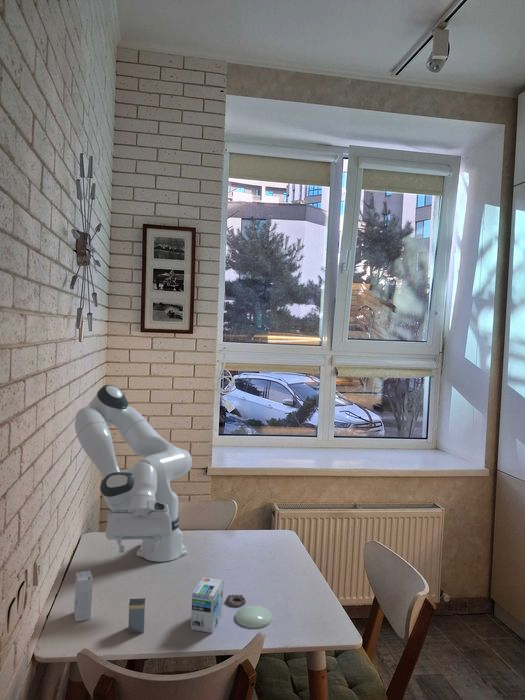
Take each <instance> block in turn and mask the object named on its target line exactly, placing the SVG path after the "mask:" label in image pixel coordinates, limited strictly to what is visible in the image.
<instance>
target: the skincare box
mask: <svg viewBox="0 0 525 700" xmlns="http://www.w3.org/2000/svg"><path fill="white" fill-rule="evenodd" d="M93 582H94V580H93V575H92V572H91V570H84V571H78V572H76V573H75V585H74V586H75V588H74V604H73V606H74V608H73V617H74V621H75V622H82V621H89V620H91V618H92V617H91V615H92V614H91V613H92V600H93V599H92V598H93V597H92V596H93Z"/></svg>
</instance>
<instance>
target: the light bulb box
mask: <svg viewBox="0 0 525 700" xmlns="http://www.w3.org/2000/svg"><path fill="white" fill-rule="evenodd" d="M223 603H224V579H218V578H217V579H216V578H210V577H205V576H204V577H202V578H201V580H200V581H199V583H198V584H197V585H196V587H195V588H194V590H193V591H192V592H191V618H190V619H191V620H190V621H191V623H190V629H191V631H197V632H204V633H209V634H212V633H214V631H215V629H216V627H218V624H219V622H220V620H221V618H222V617H223V609H224V607H223V605H224V604H223Z"/></svg>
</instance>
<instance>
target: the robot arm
mask: <svg viewBox="0 0 525 700" xmlns="http://www.w3.org/2000/svg"><path fill="white" fill-rule="evenodd" d="M76 413H77V414H76ZM76 413H75V414H76V421H75V425H74V430H75V433H76V436H77V439H78V442H79V444H80V446H81V448H82V449H83V451H84V452H85V454H86V455H87V457H88V458H89V459H90V460H91V462H92V463H93V464H94V465H95V467H96V469H97V470H98V471H99V473H100V475H101V477H102V480H101V482H100V484H99V485H100V486H99V491H100V493H101V495H102V496H103V499H104V500H105V502H106V504H107V507H108V509H109V512H108V513H107V516H106V522H107V523H106V528H105V538H106V539H107V540H109V541H115V540H116V544H117V546H118V553H119V554H125V545H122V541H123V540H124V541H126V540H142V541H141V546H140V547H139V548H138V550H137V551H136V555H135V556H137V557H141V558H143V559H146V560H147V561H151V562H156V563H157V562H159V563H160V562H161V563H163V562H170V561H174V560H176V559H178V558H180V557H181V556H185V555H187V554H188V550H187V548H186V546H185V545H184V543H183V542H184V540H183V532H182V530H181V529H180V528H179V527H180V516H179V514H178V513H179V497H178V494H176V492H174V491H172V488H171V481H172V480H175V479H179V478H181V477H182V476H185V475H186V474H187V473H189V472H190V471H191V469H192V466H193V459H192V455H191V453H190V452H189V451H187V450H186V449H183V448H180V447H177V446H175V445H174V444H172V443H171V442H169V441H168V440H166V439H164V438H163V437H162V436H161V435H160V434H159V433H158V432H157V431H156V430H155V429H154V427H152V425H151V424H150V423H149V422H148V420H147V419H146V418H145V417H144V416H143V415H142V414H141V413H140V412H139V411H138V410H137V409H135V408H134V407H133V406H129V403H128V400H127V397H126V395H125V393H124V392H123V391H122V389H121V388H119V387H118V386H116V385H113V384H105V385H103V386H102V387H100V388H99V389H98V391H97V393H96V394H95V396H94V397H93V398H92V400H91V401H90V402H89V405H88V406H85V407H82V408H81V409H79V410H78V411H77V412H76ZM111 425H113V426H114V427H116V429H117V430H118V432H119V434H120V435H121V437H122V438H123V441H125V442H126V444H127V445H128V447H129V448H130V449H131V450H132V452H134V454H135V455H137V456H140V457H143V458H142V459H140V460H139V461H137V462H136V463H135V464H134V465H132V466H131V467H130V468H128V469H125V470H122V471H121V470H120V467H119V465H118V461H117V456H116V452H115V448H114V443H113V438H112V434H111V431H110V426H111Z"/></svg>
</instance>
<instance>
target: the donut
mask: <svg viewBox="0 0 525 700" xmlns="http://www.w3.org/2000/svg"><path fill="white" fill-rule="evenodd" d="M237 600H238V601H237ZM225 601H226V604H227V605H228V606H229V607H231V608H232V607H233V608H239V607H240V608H241V607H242V606H245V604H246V602H247V601H246V599H245V597H244V595H242V594H233V593H232V594H229V595H228V596H226V599H225Z"/></svg>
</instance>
